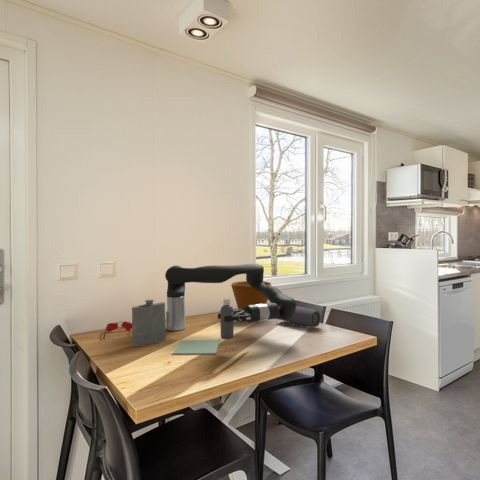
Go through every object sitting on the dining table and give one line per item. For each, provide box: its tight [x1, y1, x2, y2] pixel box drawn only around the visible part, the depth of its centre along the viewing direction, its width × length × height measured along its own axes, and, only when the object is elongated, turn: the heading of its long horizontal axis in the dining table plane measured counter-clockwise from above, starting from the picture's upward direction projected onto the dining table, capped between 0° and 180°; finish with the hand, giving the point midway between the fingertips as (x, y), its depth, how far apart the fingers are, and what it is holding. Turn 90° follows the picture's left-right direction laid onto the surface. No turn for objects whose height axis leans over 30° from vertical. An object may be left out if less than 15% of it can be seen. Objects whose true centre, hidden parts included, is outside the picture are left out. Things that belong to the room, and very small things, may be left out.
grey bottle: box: [219, 298, 235, 340], centre depth 143 cm, size 5×5×16 cm
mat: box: [171, 339, 221, 356], centre depth 151 cm, size 18×18×1 cm
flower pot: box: [230, 280, 272, 311], centre depth 206 cm, size 24×24×20 cm
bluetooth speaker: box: [279, 305, 322, 328], centre depth 185 cm, size 23×9×10 cm, turn 42°
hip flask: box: [131, 299, 167, 347], centre depth 158 cm, size 16×4×20 cm, turn 130°
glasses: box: [102, 321, 133, 340], centre depth 173 cm, size 14×16×5 cm
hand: (221, 317), depth 142 cm, fingers closed on grey bottle, 5 cm apart
